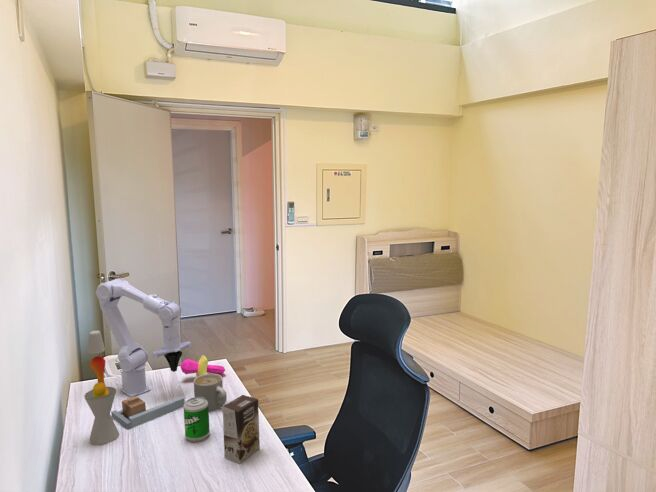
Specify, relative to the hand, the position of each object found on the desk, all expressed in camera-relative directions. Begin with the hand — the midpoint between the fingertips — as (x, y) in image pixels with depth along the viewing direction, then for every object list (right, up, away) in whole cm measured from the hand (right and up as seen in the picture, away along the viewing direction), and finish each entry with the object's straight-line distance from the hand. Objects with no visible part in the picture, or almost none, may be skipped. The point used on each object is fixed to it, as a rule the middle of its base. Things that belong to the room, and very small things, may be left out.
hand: (173, 370), depth 177 cm
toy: (+7, -8, +17) cm, 19 cm away
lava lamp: (-14, -15, -26) cm, 33 cm away
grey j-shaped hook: (-5, -12, -10) cm, 16 cm away
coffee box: (+32, -15, -36) cm, 50 cm away
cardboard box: (-9, -13, -14) cm, 21 cm away
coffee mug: (+16, -11, -8) cm, 21 cm away
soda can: (+16, -14, -26) cm, 34 cm away
